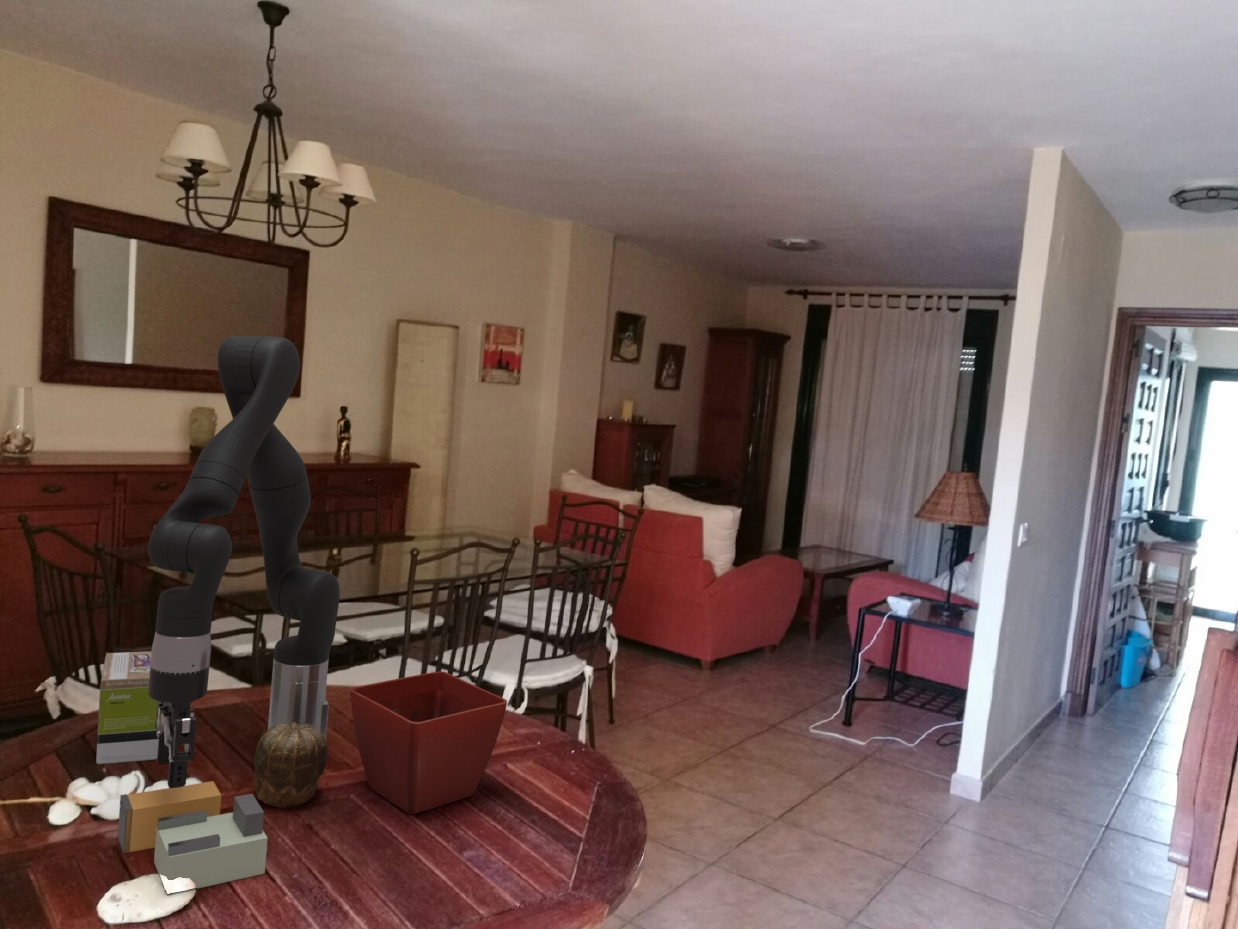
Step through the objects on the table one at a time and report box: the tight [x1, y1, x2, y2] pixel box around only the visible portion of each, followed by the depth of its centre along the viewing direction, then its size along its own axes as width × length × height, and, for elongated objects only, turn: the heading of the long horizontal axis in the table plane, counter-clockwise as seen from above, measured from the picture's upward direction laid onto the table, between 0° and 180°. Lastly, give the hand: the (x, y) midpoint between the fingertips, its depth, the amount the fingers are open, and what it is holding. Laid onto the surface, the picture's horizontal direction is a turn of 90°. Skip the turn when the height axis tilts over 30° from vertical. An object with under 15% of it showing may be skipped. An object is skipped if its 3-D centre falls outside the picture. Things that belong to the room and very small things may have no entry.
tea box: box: [95, 650, 161, 765], centre depth 155 cm, size 15×10×15 cm, turn 27°
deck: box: [153, 793, 268, 889], centre depth 120 cm, size 12×9×8 cm
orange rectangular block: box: [117, 780, 222, 854], centre depth 127 cm, size 12×5×6 cm, turn 127°
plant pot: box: [349, 670, 508, 815], centre depth 149 cm, size 19×19×17 cm
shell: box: [253, 722, 328, 809], centre depth 142 cm, size 11×11×12 cm
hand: (170, 774), depth 127 cm, fingers open, 8 cm apart
